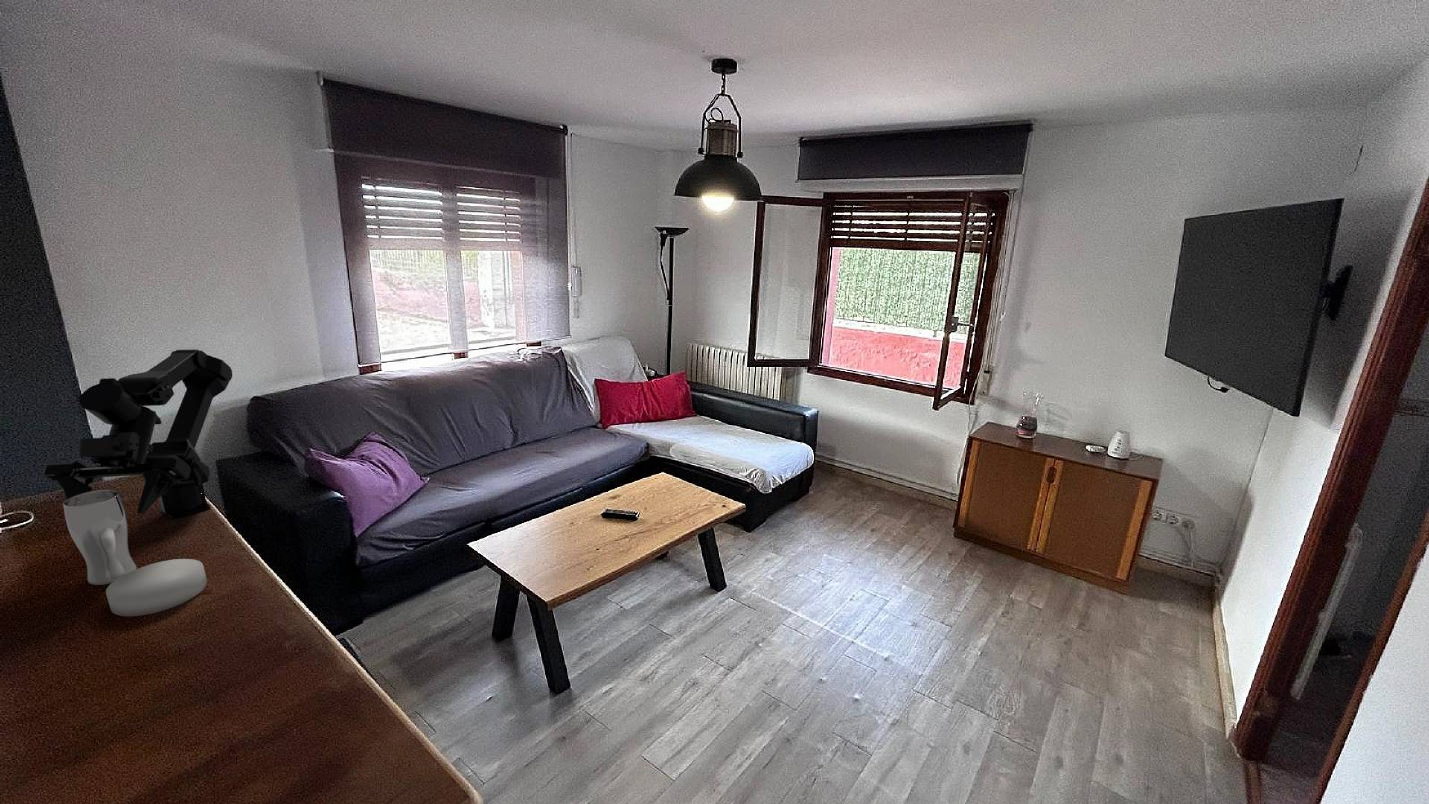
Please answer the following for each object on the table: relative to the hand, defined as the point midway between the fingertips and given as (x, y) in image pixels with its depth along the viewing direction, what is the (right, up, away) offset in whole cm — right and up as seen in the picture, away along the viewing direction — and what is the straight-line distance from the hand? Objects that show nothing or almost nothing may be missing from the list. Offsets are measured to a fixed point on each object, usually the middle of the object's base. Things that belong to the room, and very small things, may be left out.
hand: (107, 516), depth 103 cm
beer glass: (0, -11, +1) cm, 11 cm away
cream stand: (+13, -12, -4) cm, 18 cm away
